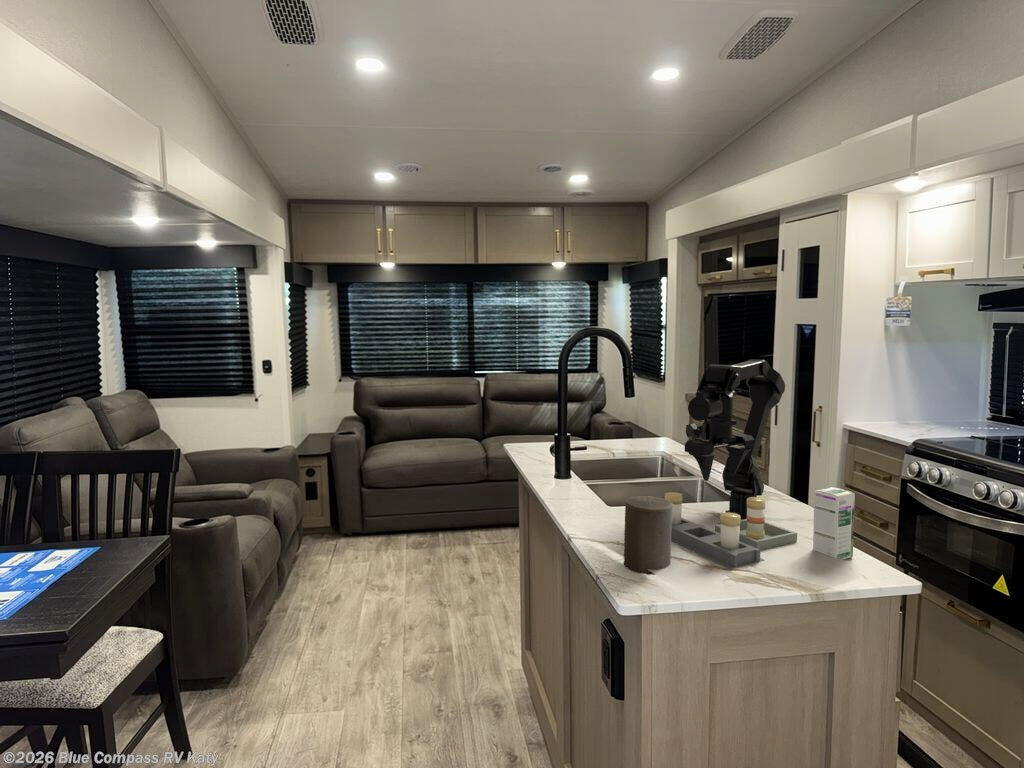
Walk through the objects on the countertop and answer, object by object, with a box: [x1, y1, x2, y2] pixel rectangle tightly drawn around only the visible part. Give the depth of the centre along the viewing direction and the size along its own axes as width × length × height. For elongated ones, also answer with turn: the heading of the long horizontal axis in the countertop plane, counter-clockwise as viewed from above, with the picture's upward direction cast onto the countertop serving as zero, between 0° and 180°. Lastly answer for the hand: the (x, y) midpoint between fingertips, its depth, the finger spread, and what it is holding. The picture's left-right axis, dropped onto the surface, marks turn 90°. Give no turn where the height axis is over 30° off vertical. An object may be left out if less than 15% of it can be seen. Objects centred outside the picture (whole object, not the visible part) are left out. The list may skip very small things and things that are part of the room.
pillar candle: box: [623, 495, 673, 575], centre depth 131 cm, size 10×10×15 cm
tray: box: [714, 519, 798, 551], centre depth 145 cm, size 13×13×3 cm
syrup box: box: [812, 486, 856, 560], centre depth 135 cm, size 6×6×14 cm
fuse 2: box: [719, 512, 741, 551], centre depth 133 cm, size 4×4×9 cm
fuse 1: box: [664, 491, 683, 526], centre depth 149 cm, size 4×4×9 cm
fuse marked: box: [746, 496, 766, 540], centre depth 145 cm, size 4×4×9 cm
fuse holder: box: [671, 517, 765, 570], centre depth 142 cm, size 28×10×4 cm, turn 26°
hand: (719, 477), depth 155 cm, fingers open, 9 cm apart
